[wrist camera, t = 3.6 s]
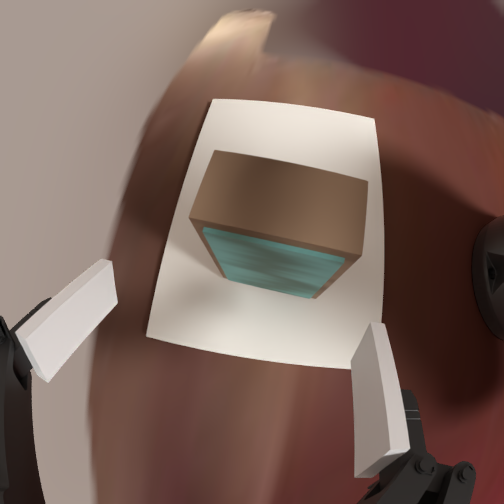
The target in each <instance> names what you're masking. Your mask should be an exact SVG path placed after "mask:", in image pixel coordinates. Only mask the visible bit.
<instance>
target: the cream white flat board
mask: <svg viewBox="0 0 504 504" xmlns="http://www.w3.org/2000/svg"><path fill="white" fill-rule="evenodd" d="M214 150H220V151H227V152H234V153H240V154H247V155H253V156H258V157H264V158H270V159H275V160H280V161H285V162H290V163H295V164H300V165H305V166H309V167H314V168H318V169H323V170H327V171H331V172H335V173H339V174H343V175H347V176H351V177H355V178H359V179H363V180H366V181H368V197H367V211H366V223H365V234H364V244H363V253H362V256H361V257H360V258H359V259H358V260H357V261H356V262H355V263H354V264H353V265H352V266H351V267H350V268H349V269H348V270H347V271H346V272H345V273H343V274H342V275H341V276H340V277H339V278H338V279H337V280H336V281H335V282H334V283H333V284H332V285H331V286H330V287H328V288H327V289H326V290H325V291H324V292H323V293H322V294H321V295H320V296H319V297H317V298H316V299H313V298H310V299H308V298H303V297H299V296H294V295H290V294H285V293H281V292H276V291H272V290H268V289H263V288H259V287H255V286H251V285H246V284H242V283H238V282H234V281H230V280H228V279H226V278H223V276H222V274H221V273H220V271H219V269H218V268H217V266H216V264H215V263H214V261H213V259H212V258H211V256H210V254H209V252H208V251H207V249H206V247H205V246H204V244H203V242H202V240H201V239H200V237H199V235H198V233H197V232H196V230H195V228H194V226H193V225H192V223H191V221H190V219H189V218H188V217H189V214H190V211H191V209H192V206H193V203H194V200H195V198H196V195H197V192H198V190H199V187H200V185H201V182H202V179H203V177H204V174H205V172H206V169H207V167H208V164H209V162H210V159H211V157H212V154H213V152H214ZM383 286H384V213H383V194H382V181H381V169H380V160H379V151H378V143H377V135H376V128H375V122H374V119H372V118H368V117H363V116H358V115H354V114H349V113H344V112H339V111H333V110H327V109H321V108H315V107H308V106H301V105H293V104H285V103H275V102H264V101H251V100H233V99H213V100H212V103H211V106H210V108H209V111H208V113H207V116H206V119H205V122H204V124H203V127H202V130H201V133H200V135H199V138H198V141H197V144H196V147H195V150H194V153H193V156H192V159H191V162H190V165H189V168H188V171H187V174H186V177H185V180H184V183H183V187H182V190H181V193H180V197H179V200H178V203H177V207H176V210H175V214H174V217H173V221H172V225H171V228H170V232H169V236H168V239H167V243H166V247H165V251H164V255H163V259H162V263H161V267H160V272H159V276H158V280H157V285H156V289H155V294H154V298H153V303H152V308H151V313H150V318H149V323H148V329H147V334H146V337H150V338H154V339H158V340H162V341H166V342H170V343H175V344H179V345H183V346H188V347H193V348H197V349H202V350H207V351H212V352H217V353H223V354H228V355H234V356H240V357H246V358H252V359H259V360H266V361H273V362H281V363H289V364H297V365H307V366H317V367H329V368H343V369H351V362H350V361H351V359H352V357H353V355H354V353H355V351H356V349H357V348H358V346H359V344H360V342H361V340H362V338H363V336H364V334H365V332H366V329H367V327H368V325H369V323H370V321H371V322H377V323H381V319H382V305H383Z"/></svg>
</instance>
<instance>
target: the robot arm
mask: <svg viewBox="0 0 504 504" xmlns="http://www.w3.org/2000/svg"><path fill="white" fill-rule="evenodd" d="M472 277H473V286H474V291H475V296H476V300H477V303H478V307H479V309H480V312H481V314H482V317H483V319H484V321H485V323H486V324H487V326H488V327H489V329H490V330H491V331H492V332H493V333H494V334H495V335H496V336H497V337H498V338H500V339H502V340H504V215H503V216H500V217H497V218H496V219H494V220H493V221H491V222H490V223H488V224H487V225H486V226H484V227H483V228H482V230H481V231H480V232H479V234H478V236H477V239H476V241H475V245H474V249H473V256H472ZM117 303H118V302H117V295H116V289H115V282H114V274H113V266H112V261H109V260H105V259H102V258H101V259H100V260H98V261H97V262H96V263H95V264H93V265H92V266H91V267H89V268H88V269H87V270H86V271H84V272H83V273H82V274H81V275H79V276H78V277H77V278H76V279H75V280H73V281H72V282H71V283H70V284H68V285H67V286H66V287H65V288H64V289H63V290H61V291H60V292H59V293H58V294H57V295H55V296H54V297H53V298H48V299H46V300H44V301H42V302H41V303H39V304H38V305H37V306H36V307H35V309H33V310H31V311H30V312H29V314H27V315H26V316H25V317H24V318H23V319H22V320H21V321H19V322H18V323H17V324H16V325H15V326H14V327H13V328H12V329H11V330H10V331H9V329H8V328H7V325H6V323H5V320H4V319H3V317H2V316H0V504H45V500H44V496H43V491H42V488H41V482H40V477H39V471H38V466H37V459H36V452H35V444H34V434H33V421H32V400H31V398H32V395H31V383H32V381H31V380H32V376H31V372H30V370H31V369H32V368H33V369H34V370H35V372H36V374H37V376H39V377H40V378H42V379H43V380H44V381H46V382H49V381H50V380H51V379H52V378H53V376H54V375H55V374H56V373H57V371H58V370H59V369H60V368H61V367H62V365H63V364H64V363H65V362H66V361H67V360H68V358H69V357H70V356H71V355H72V354H73V352H74V351H75V350H76V349H77V348H78V347H79V345H80V344H81V343H82V342H83V341H84V340H85V339H86V338H87V336H88V335H89V334H90V333H91V332H92V331H93V330H94V329H95V327H96V326H97V325H98V324H99V323H100V322H101V321H102V320H103V319H104V318H105V316H106V315H107V314H108V313H109V312H110V311H111V310H112V309H113V308H114V307H115V306H116V305H117ZM350 362H351V374H352V388H353V406H354V434H355V477H354V478H368V477H373V476H375V475H376V474H378V473H379V478H380V479H379V480H378V481H376V482H375V483H373V484H372V485H370V486H369V487H368V489H370V488H371V489H370V490H369V491H368V492H367V493H366V494H365V495H364V496H363V498H362V499H361V500H360V501H359V502H358V503H357V504H470V500H471V496H472V492H473V488H474V484H475V479H476V472H475V468H474V467H473V465H472V464H470V463H469V462H465V461H462V462H460V463H458V464H456V465H455V466H454V467H452V466H448V465H443V464H439V463H437V462H436V460H435V458H434V457H433V456H432V455H431V454H429V453H427V451H426V446H425V440H424V434H423V429H422V423H421V420H420V413H419V412H418V410H419V409H418V404H417V400H416V398H415V396H414V395H413V393H412V392H411V390H403V389H400V385H399V380H398V376H397V371H396V367H395V363H394V358H393V354H392V350H391V346H390V342H389V338H388V335H387V331H386V327H385V324H383V323H377V322H371V321H370V323H369V325H368V327H367V329H366V332H365V334H364V336H363V338H362V340H361V342H360V344H359V346H358V348H357V349H356V351H355V353H354V355H353V357H352V359H351V361H350Z"/></svg>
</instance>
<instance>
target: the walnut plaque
mask: <svg viewBox="0 0 504 504" xmlns="http://www.w3.org/2000/svg"><path fill="white" fill-rule="evenodd" d="M367 197H368V181H366V180H363V179H359V178H355V177H351V176H347V175H343V174H339V173H335V172H331V171H327V170H323V169H318V168H314V167H309V166H305V165H300V164H295V163H290V162H285V161H280V160H275V159H270V158H264V157H258V156H253V155H247V154H240V153H234V152H227V151H220V150H214V152H213V154H212V157H211V159H210V162H209V164H208V167H207V169H206V172H205V174H204V177H203V179H202V182H201V185H200V187H199V190H198V192H197V195H196V198H195V200H194V203H193V206H192V209H191V211H190V214H189V217H188V218H189V219H190V221H191V223H192V225H193V226H194V228H195V230H196V232H197V233H198V235H199V237H200V239H201V240H202V242H203V244H204V246H205V247H206V249H207V251H208V252H209V254H210V256H211V258H212V259H213V261H214V263H215V264H216V266H217V268H218V269H219V271H220V273H221V274H222V276H223V278H226V279H228V280H230V281H234V282H238V283H242V284H246V285H251V286H255V287H259V288H263V289H268V290H272V291H276V292H281V293H285V294H290V295H294V296H299V297H303V298H308V299H310V298H313V299H316V298H317V297H319V296H320V295H321V294H322V293H323V292H324V291H325V290H326V289H327V288H328V287H330V286H331V285H332V284H333V283H334V282H335V281H336V280H337V279H338V278H339V277H340V276H341V275H342V274H343V273H345V272H346V271H347V270H348V269H349V268H350V267H351V266H352V265H353V264H354V263H355V262H356V261H357V260H358V259H359V258H360V257H361V256H362V253H363V244H364V234H365V223H366V211H367Z"/></svg>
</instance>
